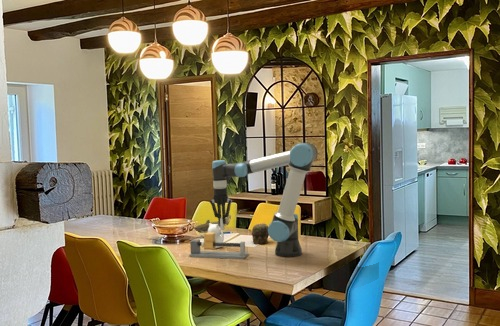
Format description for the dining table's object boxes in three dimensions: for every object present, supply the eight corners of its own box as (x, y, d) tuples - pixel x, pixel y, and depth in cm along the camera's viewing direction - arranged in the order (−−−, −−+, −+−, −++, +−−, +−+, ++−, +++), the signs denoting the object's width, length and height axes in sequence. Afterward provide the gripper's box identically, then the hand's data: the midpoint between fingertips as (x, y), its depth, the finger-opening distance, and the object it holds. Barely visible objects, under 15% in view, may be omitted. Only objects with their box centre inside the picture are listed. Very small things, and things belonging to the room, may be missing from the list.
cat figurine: (204, 248, 303) (203, 224, 302) (217, 244, 313) (216, 220, 312) (216, 250, 298) (215, 225, 297) (229, 245, 308) (228, 221, 307)
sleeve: (215, 247, 287) (215, 232, 286) (212, 249, 282) (212, 234, 281) (207, 247, 288) (206, 232, 288) (204, 249, 283) (203, 234, 283)
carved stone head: (273, 242, 314) (272, 223, 313) (261, 245, 306) (260, 226, 305) (260, 240, 321) (259, 221, 321) (248, 243, 313) (247, 224, 313)
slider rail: (248, 254, 285) (248, 239, 284) (244, 259, 275) (243, 243, 275) (195, 252, 293) (195, 238, 292) (189, 256, 283) (188, 242, 283)
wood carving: (235, 231, 354) (235, 215, 353) (199, 239, 327) (199, 222, 327) (226, 229, 360) (226, 214, 359) (190, 238, 333) (189, 221, 333)
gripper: (233, 186, 283) (235, 228, 284) (211, 187, 286) (213, 228, 288) (229, 188, 276) (231, 230, 277) (206, 188, 279) (209, 231, 280)
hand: (222, 229), depth 282 cm, fingers closed
